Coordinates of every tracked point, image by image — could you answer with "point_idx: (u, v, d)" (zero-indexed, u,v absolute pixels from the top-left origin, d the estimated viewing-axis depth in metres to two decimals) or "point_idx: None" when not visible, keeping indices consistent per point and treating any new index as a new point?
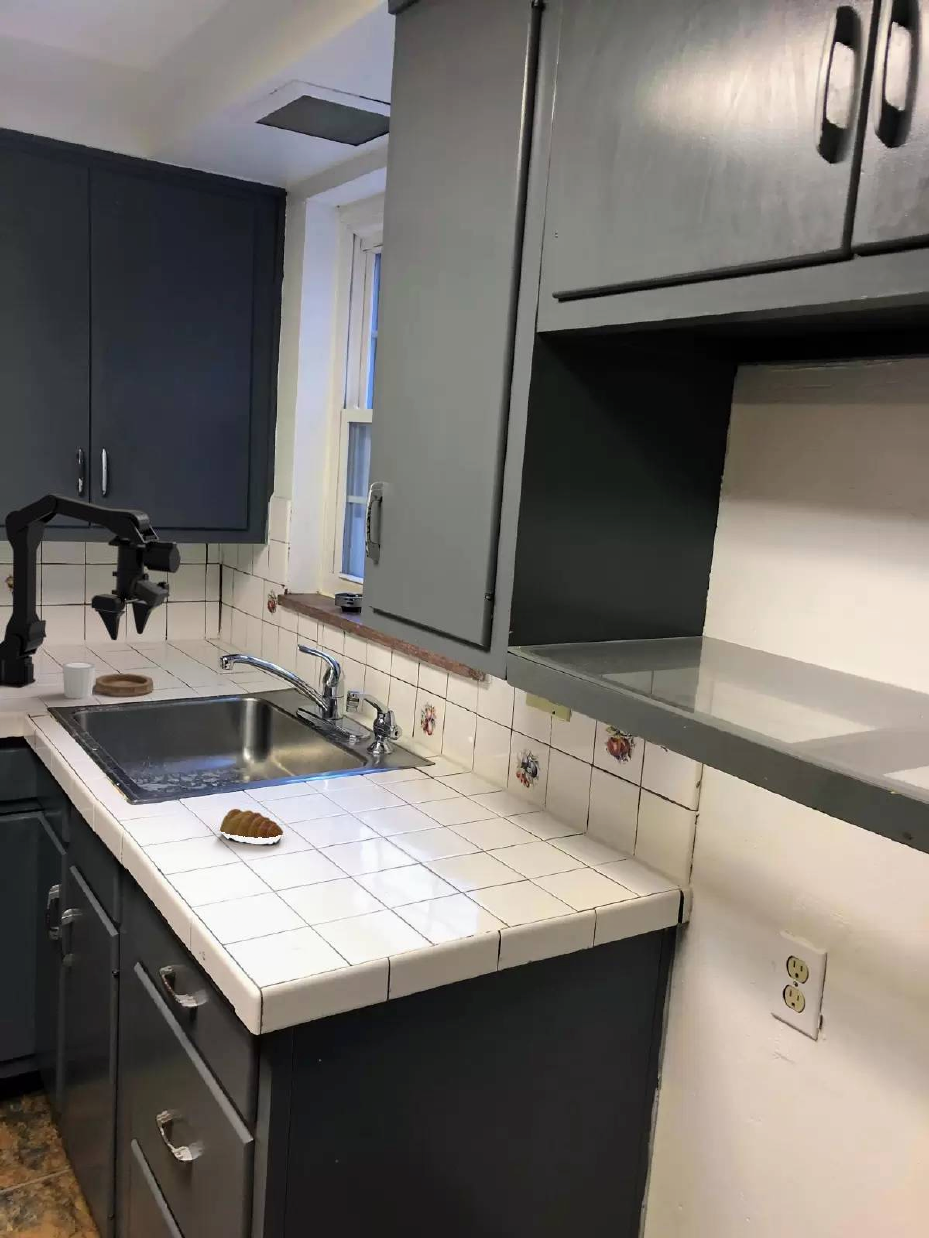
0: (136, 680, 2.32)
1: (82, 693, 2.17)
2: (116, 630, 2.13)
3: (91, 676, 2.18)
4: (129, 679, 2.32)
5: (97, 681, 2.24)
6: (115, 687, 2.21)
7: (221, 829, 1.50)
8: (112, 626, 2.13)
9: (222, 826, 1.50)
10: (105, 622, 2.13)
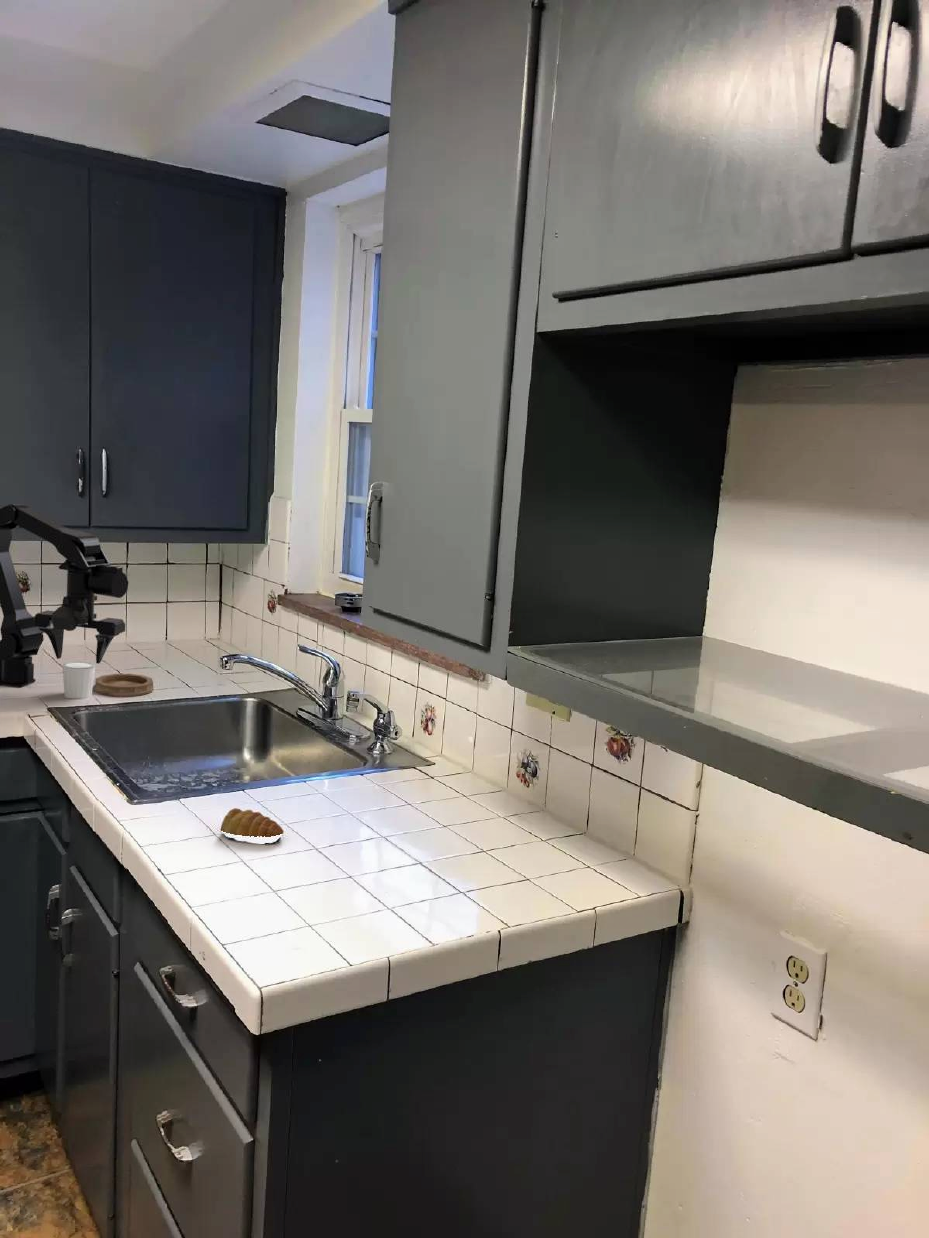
0: (136, 680, 2.32)
1: (82, 693, 2.17)
2: (54, 648, 2.17)
3: (91, 676, 2.18)
4: (129, 679, 2.32)
5: (97, 681, 2.24)
6: (115, 687, 2.21)
7: (221, 829, 1.50)
8: None
9: (222, 826, 1.50)
10: None
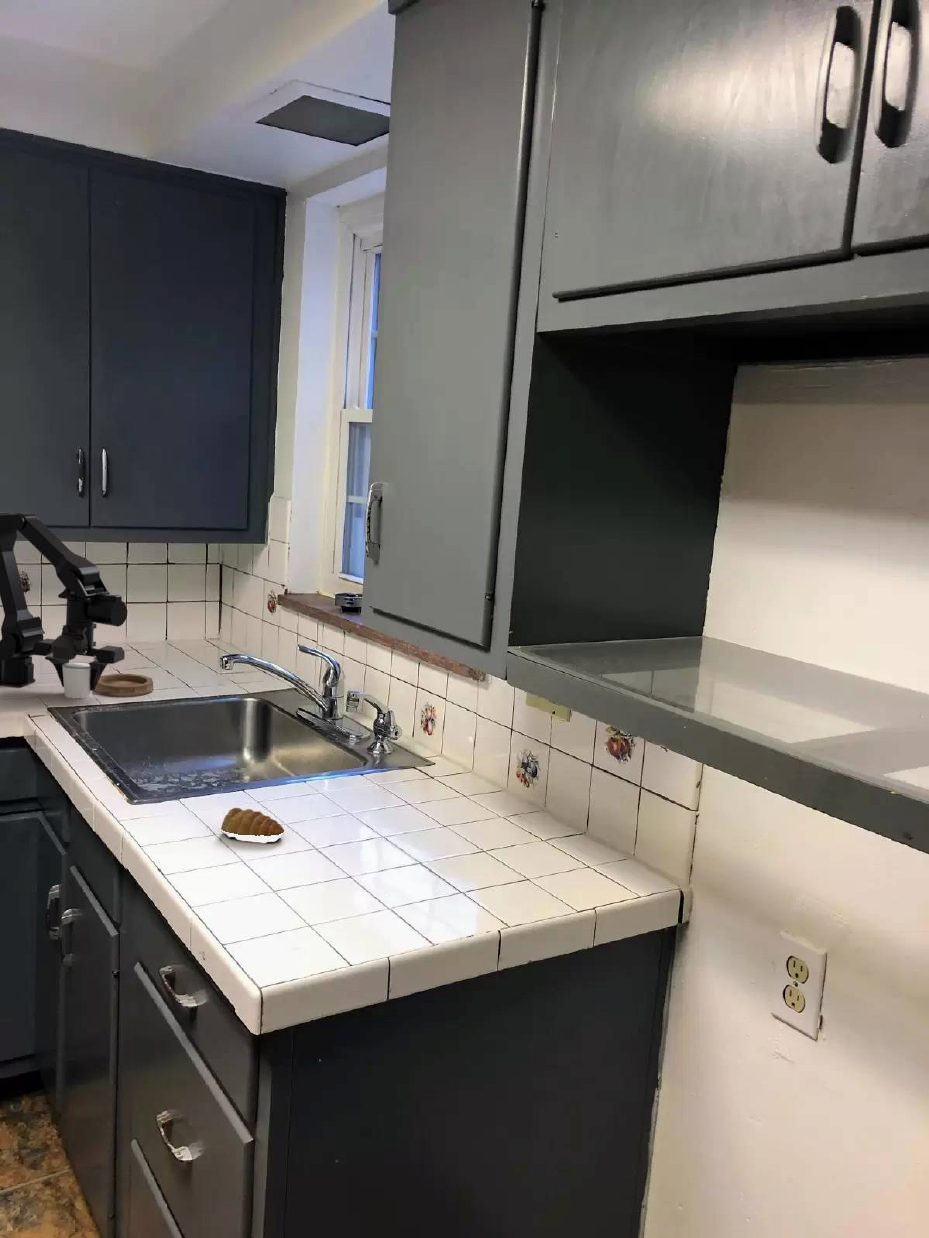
0: (136, 680, 2.32)
1: (82, 693, 2.17)
2: (59, 677, 2.18)
3: None
4: (129, 679, 2.32)
5: None
6: (115, 687, 2.21)
7: (222, 828, 1.50)
8: None
9: (223, 825, 1.50)
10: None
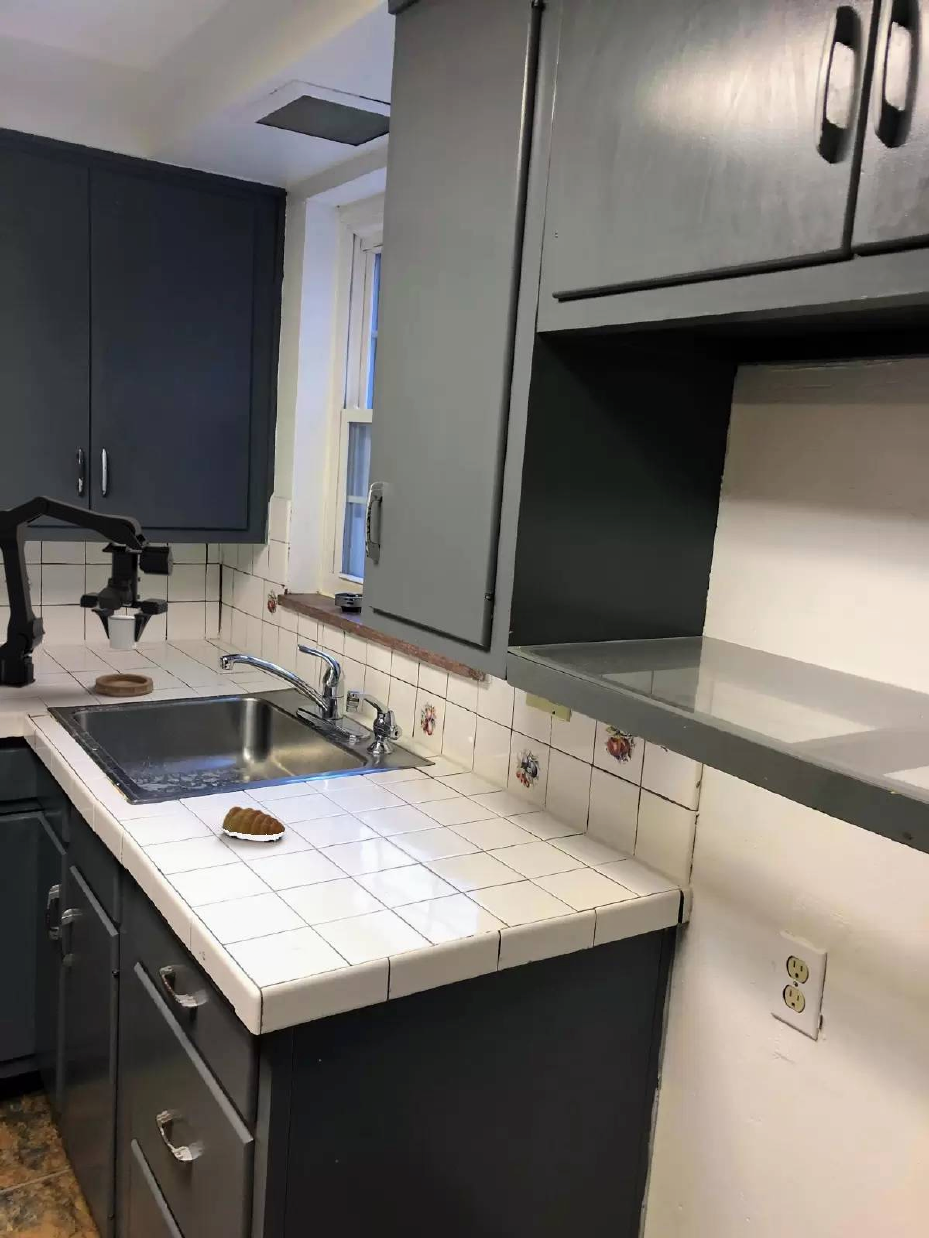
0: (136, 680, 2.32)
1: (127, 644, 2.22)
2: (105, 629, 2.24)
3: None
4: (129, 679, 2.32)
5: (97, 681, 2.24)
6: (115, 687, 2.21)
7: (223, 827, 1.51)
8: None
9: (224, 824, 1.51)
10: None
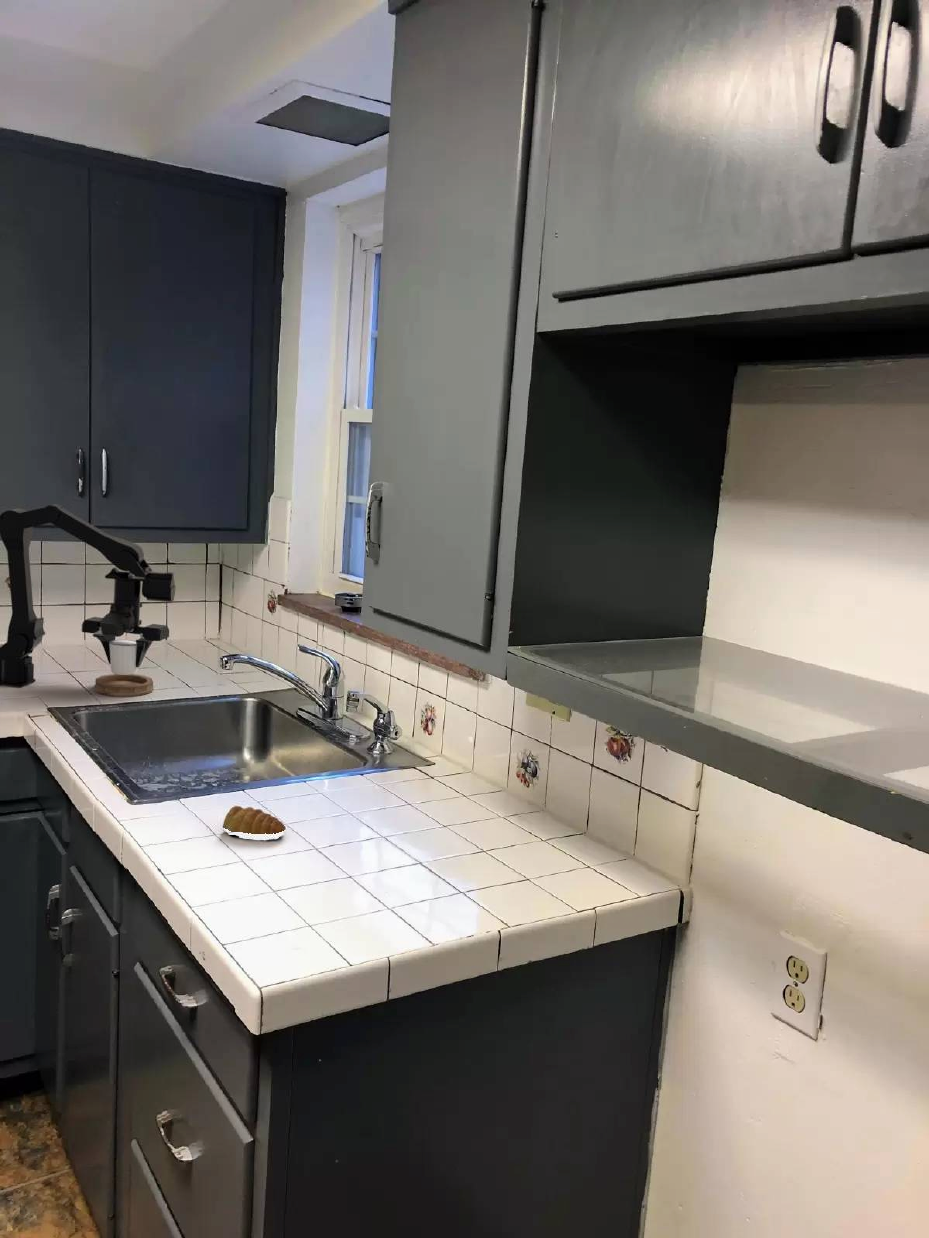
0: (136, 680, 2.32)
1: (128, 669, 2.24)
2: (106, 654, 2.25)
3: None
4: (129, 679, 2.32)
5: (97, 681, 2.24)
6: (115, 687, 2.21)
7: (224, 826, 1.51)
8: None
9: (225, 823, 1.51)
10: None
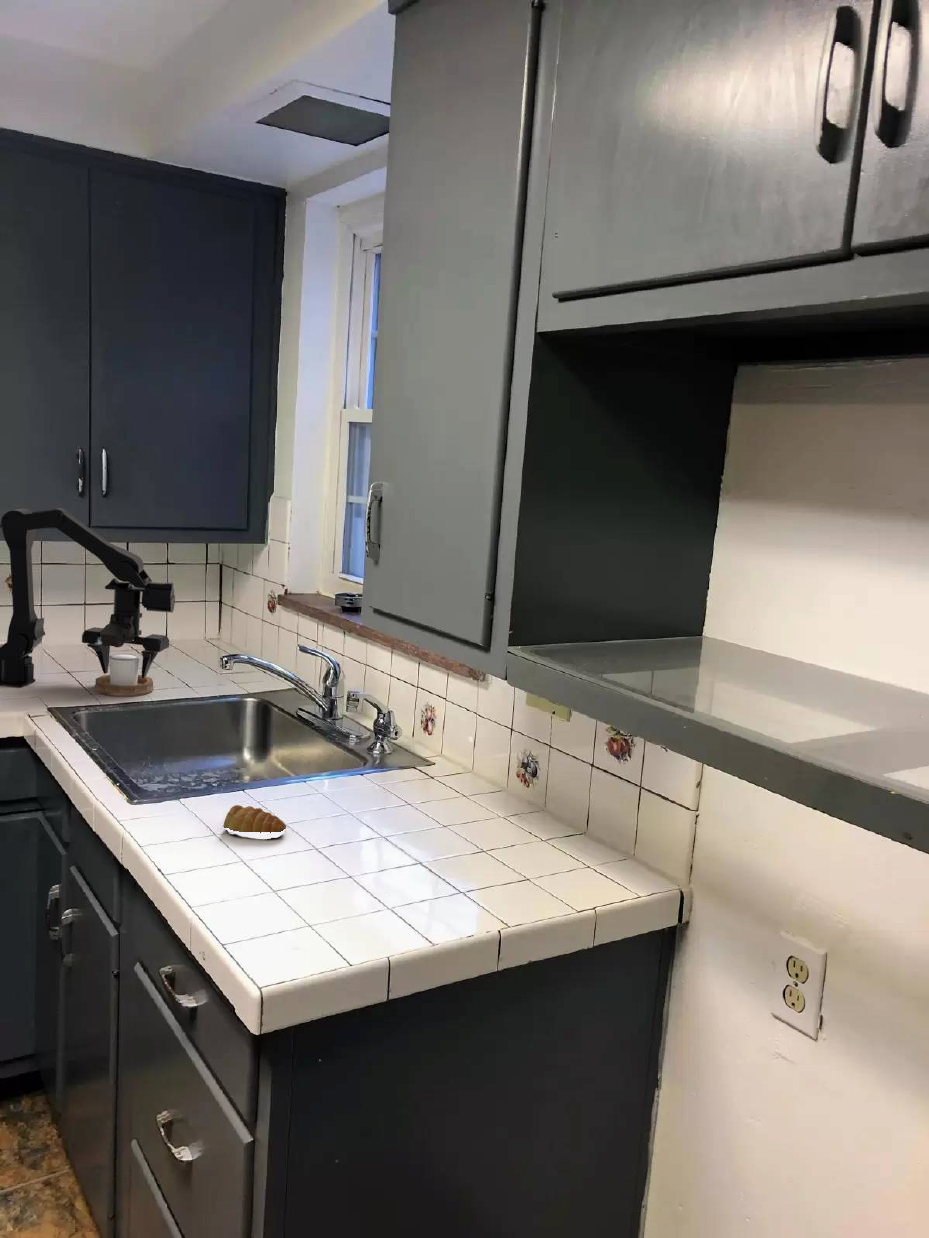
0: None
1: (128, 684, 2.25)
2: (101, 663, 2.26)
3: (136, 667, 2.26)
4: None
5: (97, 681, 2.24)
6: (115, 687, 2.21)
7: (225, 825, 1.51)
8: None
9: (226, 822, 1.51)
10: None
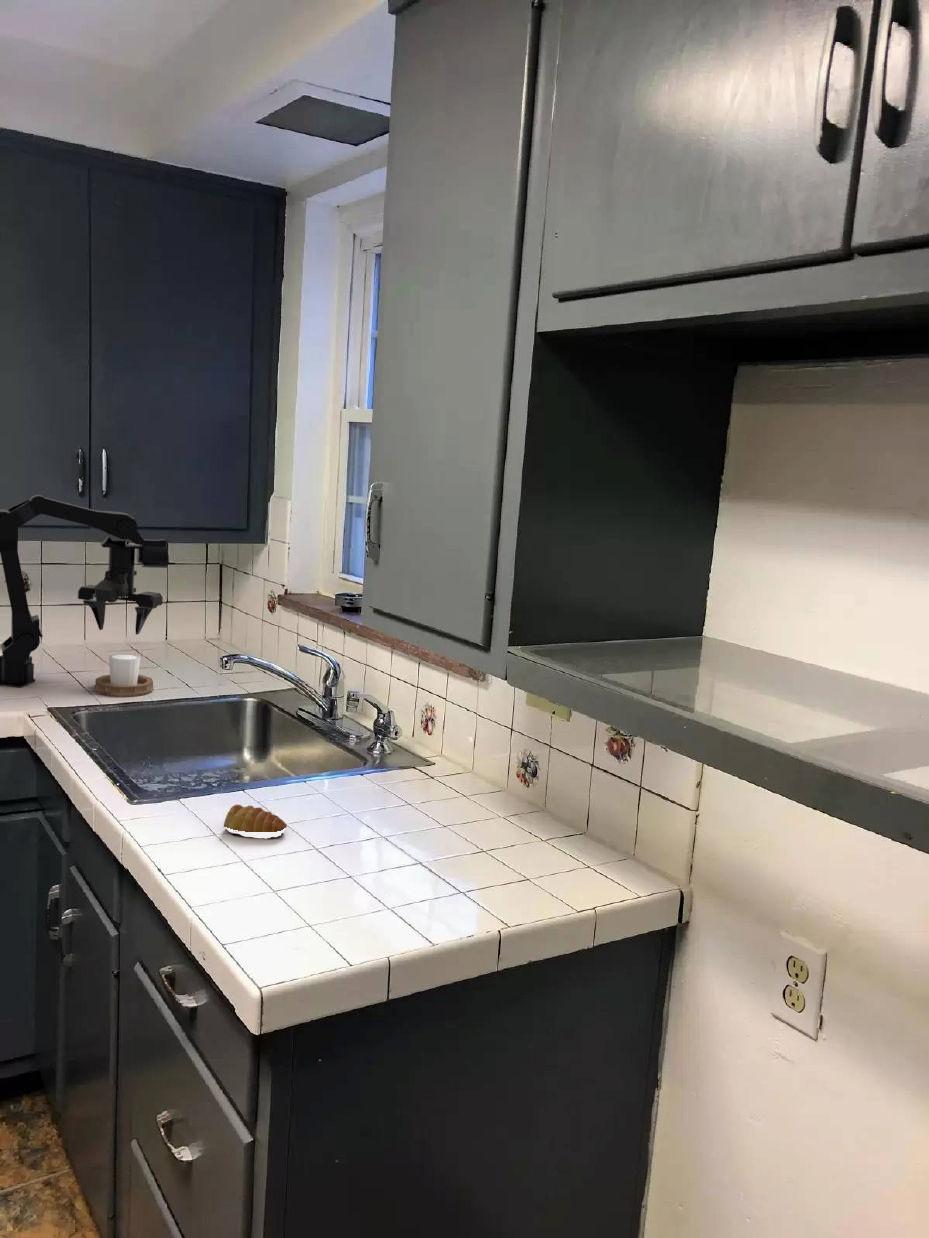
0: None
1: (128, 684, 2.25)
2: (96, 620, 2.32)
3: (136, 667, 2.26)
4: None
5: (97, 681, 2.24)
6: (115, 687, 2.21)
7: (225, 825, 1.51)
8: None
9: (226, 822, 1.52)
10: None
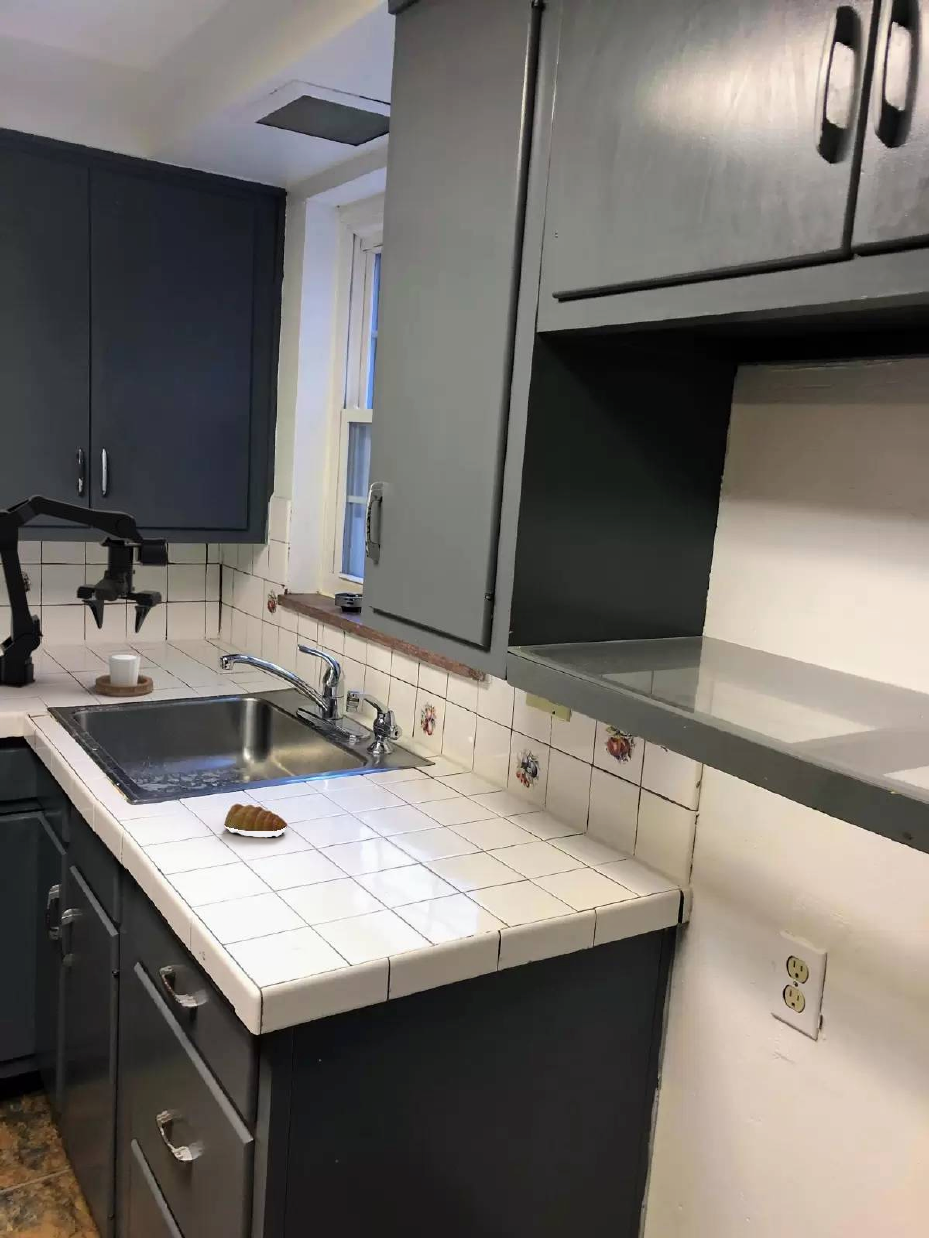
0: None
1: (128, 684, 2.25)
2: (95, 619, 2.32)
3: (136, 667, 2.26)
4: None
5: (97, 681, 2.24)
6: (115, 687, 2.21)
7: (226, 824, 1.52)
8: None
9: (227, 821, 1.52)
10: None
